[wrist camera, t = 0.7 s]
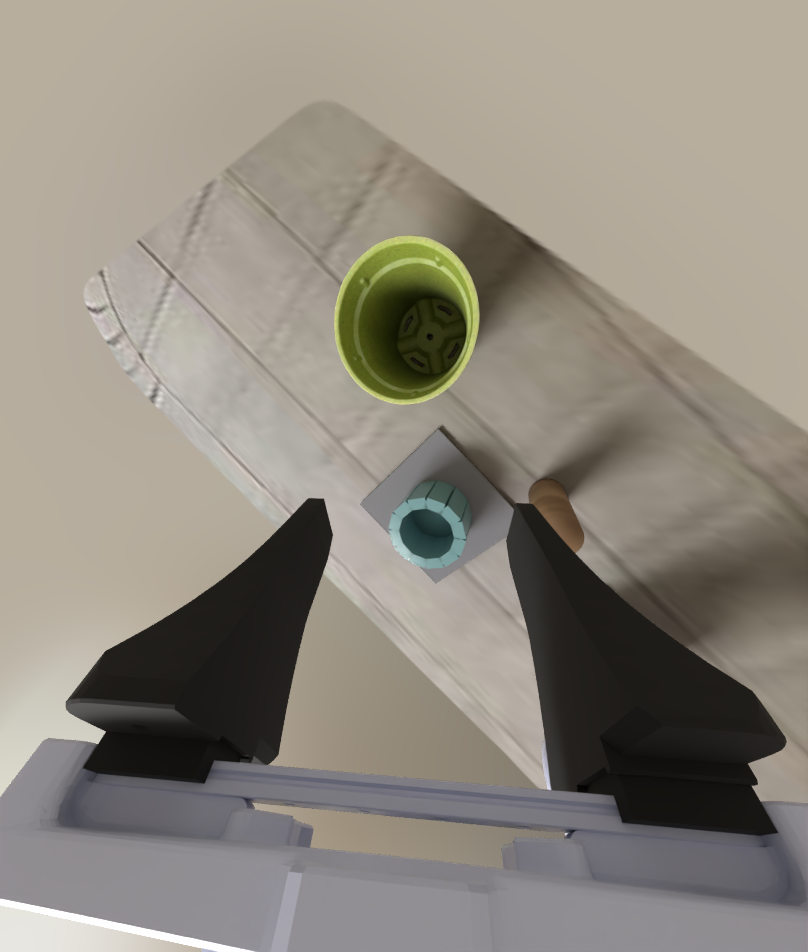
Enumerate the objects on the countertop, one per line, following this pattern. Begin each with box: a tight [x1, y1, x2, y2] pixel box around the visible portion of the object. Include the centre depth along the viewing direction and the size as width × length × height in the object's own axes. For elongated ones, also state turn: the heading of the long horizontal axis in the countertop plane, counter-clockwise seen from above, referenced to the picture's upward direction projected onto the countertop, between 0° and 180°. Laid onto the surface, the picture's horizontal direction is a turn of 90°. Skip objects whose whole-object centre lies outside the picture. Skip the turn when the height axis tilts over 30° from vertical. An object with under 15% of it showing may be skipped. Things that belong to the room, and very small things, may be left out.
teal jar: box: [389, 480, 472, 569], centre depth 30 cm, size 7×7×5 cm
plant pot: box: [334, 235, 480, 404], centre depth 23 cm, size 9×9×9 cm
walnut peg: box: [529, 479, 584, 553], centre depth 25 cm, size 3×3×8 cm
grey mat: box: [360, 429, 514, 583], centre depth 32 cm, size 12×12×1 cm
